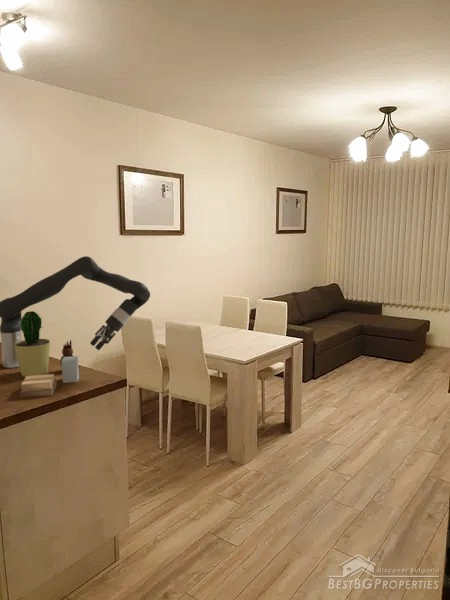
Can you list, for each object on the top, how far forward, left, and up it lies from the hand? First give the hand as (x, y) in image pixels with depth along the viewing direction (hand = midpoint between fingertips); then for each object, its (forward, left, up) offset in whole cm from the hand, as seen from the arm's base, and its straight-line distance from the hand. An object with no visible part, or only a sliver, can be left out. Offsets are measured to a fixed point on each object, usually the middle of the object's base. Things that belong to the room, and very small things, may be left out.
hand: (94, 346), depth 205 cm
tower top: (+16, -21, -11) cm, 29 cm away
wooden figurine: (-10, -13, -14) cm, 22 cm away
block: (+4, -10, -14) cm, 18 cm away
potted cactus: (-9, -28, -14) cm, 33 cm away
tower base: (+15, -21, -14) cm, 30 cm away
